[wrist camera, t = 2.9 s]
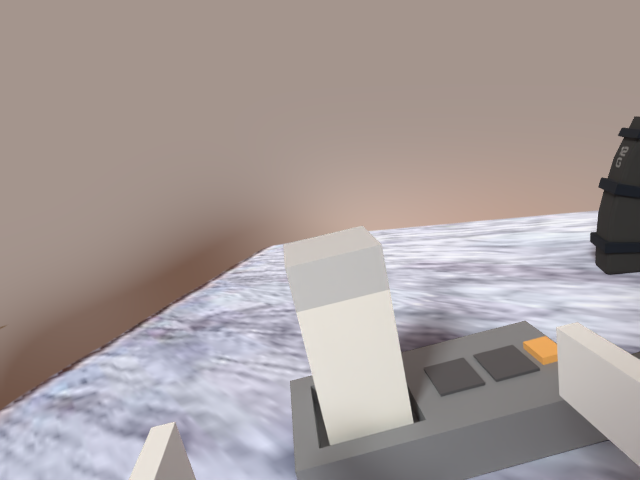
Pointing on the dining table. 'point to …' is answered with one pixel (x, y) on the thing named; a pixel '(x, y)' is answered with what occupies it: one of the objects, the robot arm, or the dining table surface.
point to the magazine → (620, 208)
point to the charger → (349, 332)
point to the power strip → (454, 414)
